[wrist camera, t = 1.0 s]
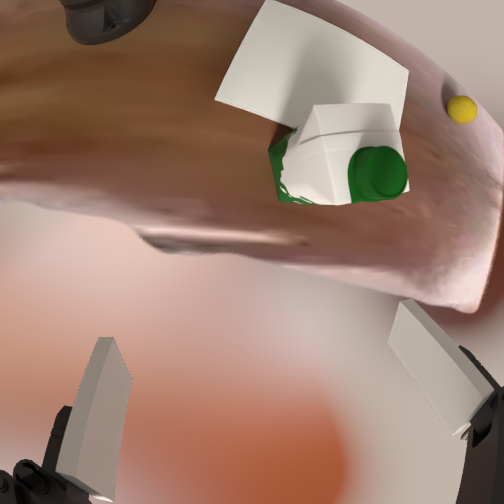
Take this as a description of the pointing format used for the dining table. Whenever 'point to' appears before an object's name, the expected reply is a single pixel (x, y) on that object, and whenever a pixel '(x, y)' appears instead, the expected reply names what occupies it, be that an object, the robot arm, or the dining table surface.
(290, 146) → the soya milk
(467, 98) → the lemon
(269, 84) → the mat
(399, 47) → the dining table surface
